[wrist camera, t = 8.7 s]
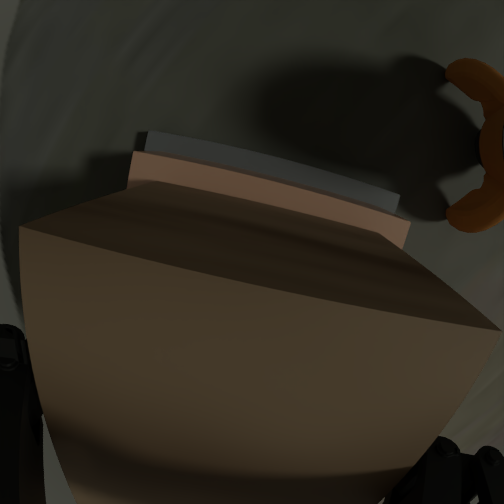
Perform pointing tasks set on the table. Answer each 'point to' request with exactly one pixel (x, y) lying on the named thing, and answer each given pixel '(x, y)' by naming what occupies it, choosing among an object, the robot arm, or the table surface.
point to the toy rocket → (482, 146)
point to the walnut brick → (237, 350)
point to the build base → (272, 166)
